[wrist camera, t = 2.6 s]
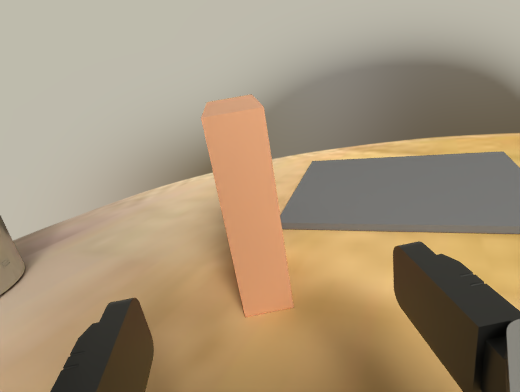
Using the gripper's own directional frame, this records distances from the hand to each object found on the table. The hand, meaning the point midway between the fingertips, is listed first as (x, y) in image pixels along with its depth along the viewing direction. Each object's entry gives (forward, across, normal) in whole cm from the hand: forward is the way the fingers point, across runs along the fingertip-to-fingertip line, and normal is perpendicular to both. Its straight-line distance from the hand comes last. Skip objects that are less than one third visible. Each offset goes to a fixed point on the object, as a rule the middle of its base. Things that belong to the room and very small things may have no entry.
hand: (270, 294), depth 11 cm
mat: (+21, -15, +7) cm, 27 cm away
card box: (+11, 0, +7) cm, 13 cm away
